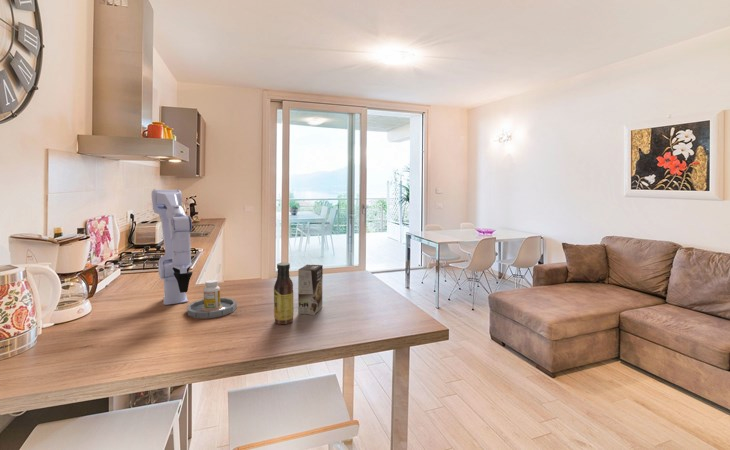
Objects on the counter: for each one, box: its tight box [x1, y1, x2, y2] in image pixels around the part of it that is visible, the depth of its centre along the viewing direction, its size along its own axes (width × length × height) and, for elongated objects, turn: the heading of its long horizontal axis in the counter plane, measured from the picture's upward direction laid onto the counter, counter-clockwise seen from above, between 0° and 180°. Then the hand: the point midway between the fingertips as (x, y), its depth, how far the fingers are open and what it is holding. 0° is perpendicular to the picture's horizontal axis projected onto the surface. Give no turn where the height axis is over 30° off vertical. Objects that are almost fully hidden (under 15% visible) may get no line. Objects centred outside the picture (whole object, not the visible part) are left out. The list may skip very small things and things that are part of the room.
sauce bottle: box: [273, 261, 294, 325], centre depth 113 cm, size 7×6×20 cm
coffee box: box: [297, 264, 324, 316], centre depth 125 cm, size 9×6×16 cm
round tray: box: [186, 297, 238, 319], centre depth 124 cm, size 16×16×2 cm
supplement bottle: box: [203, 279, 221, 310], centre depth 124 cm, size 5×5×10 cm
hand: (183, 289), depth 120 cm, fingers open, 7 cm apart
